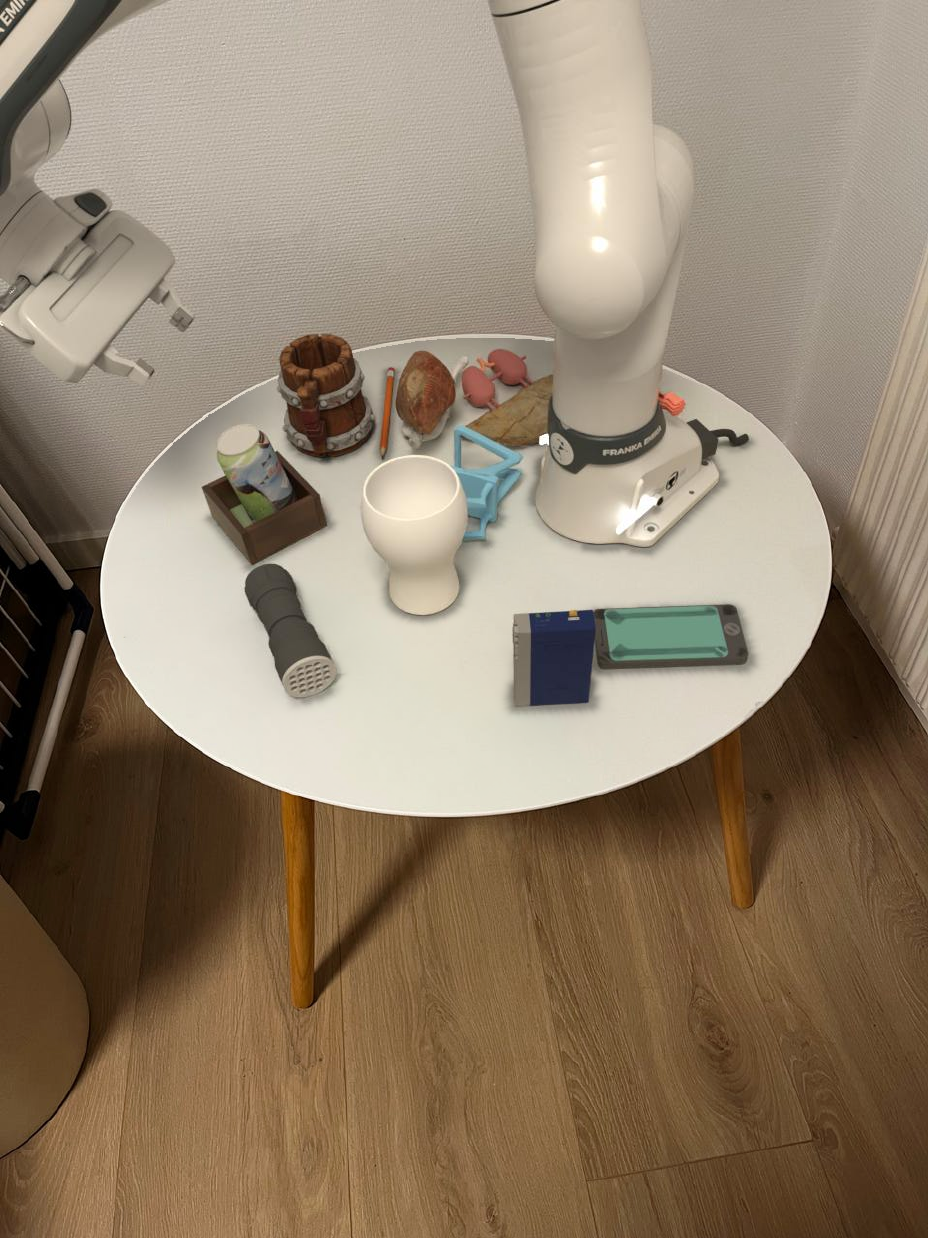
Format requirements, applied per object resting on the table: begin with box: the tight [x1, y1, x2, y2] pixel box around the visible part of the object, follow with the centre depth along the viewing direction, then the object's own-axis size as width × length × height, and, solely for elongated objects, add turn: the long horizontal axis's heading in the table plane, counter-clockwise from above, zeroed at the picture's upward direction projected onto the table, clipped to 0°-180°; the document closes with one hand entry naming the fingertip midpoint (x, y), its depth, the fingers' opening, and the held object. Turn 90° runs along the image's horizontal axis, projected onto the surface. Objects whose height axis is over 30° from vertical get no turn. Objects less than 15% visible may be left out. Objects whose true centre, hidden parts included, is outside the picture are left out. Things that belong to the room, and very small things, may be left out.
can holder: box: [201, 450, 328, 566], centre depth 106 cm, size 10×10×5 cm
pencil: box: [379, 366, 395, 460], centre depth 119 cm, size 1×19×1 cm
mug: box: [276, 333, 376, 458], centre depth 112 cm, size 12×14×15 cm
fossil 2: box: [395, 349, 457, 435], centre depth 112 cm, size 13×8×10 cm
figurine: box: [401, 356, 470, 450], centre depth 117 cm, size 7×4×18 cm
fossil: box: [461, 374, 553, 447], centre depth 116 cm, size 21×13×2 cm, turn 135°
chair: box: [448, 424, 524, 542], centre depth 104 cm, size 8×8×12 cm
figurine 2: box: [460, 348, 534, 411], centre depth 120 cm, size 12×3×7 cm
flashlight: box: [244, 563, 337, 698], centre depth 94 cm, size 15×5×5 cm, turn 25°
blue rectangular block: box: [511, 609, 596, 708], centre depth 85 cm, size 7×2×12 cm, turn 92°
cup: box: [360, 454, 469, 616], centre depth 93 cm, size 11×11×15 cm
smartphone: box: [593, 603, 750, 670], centre depth 93 cm, size 7×1×15 cm
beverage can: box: [215, 423, 298, 523], centre depth 103 cm, size 6×7×12 cm
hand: (170, 351), depth 91 cm, fingers open, 8 cm apart
